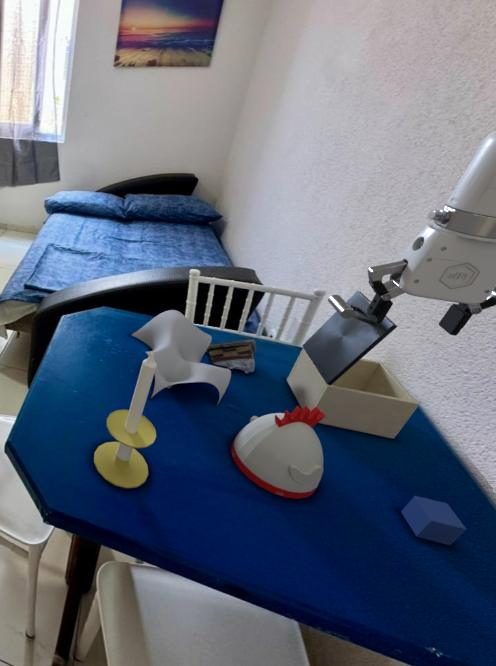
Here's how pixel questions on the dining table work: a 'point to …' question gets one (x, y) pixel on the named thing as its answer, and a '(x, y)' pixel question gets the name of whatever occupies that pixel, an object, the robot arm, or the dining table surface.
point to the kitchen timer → (282, 452)
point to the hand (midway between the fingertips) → (409, 324)
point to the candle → (129, 437)
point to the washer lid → (345, 337)
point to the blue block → (433, 520)
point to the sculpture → (180, 352)
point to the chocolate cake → (234, 354)
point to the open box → (354, 396)
